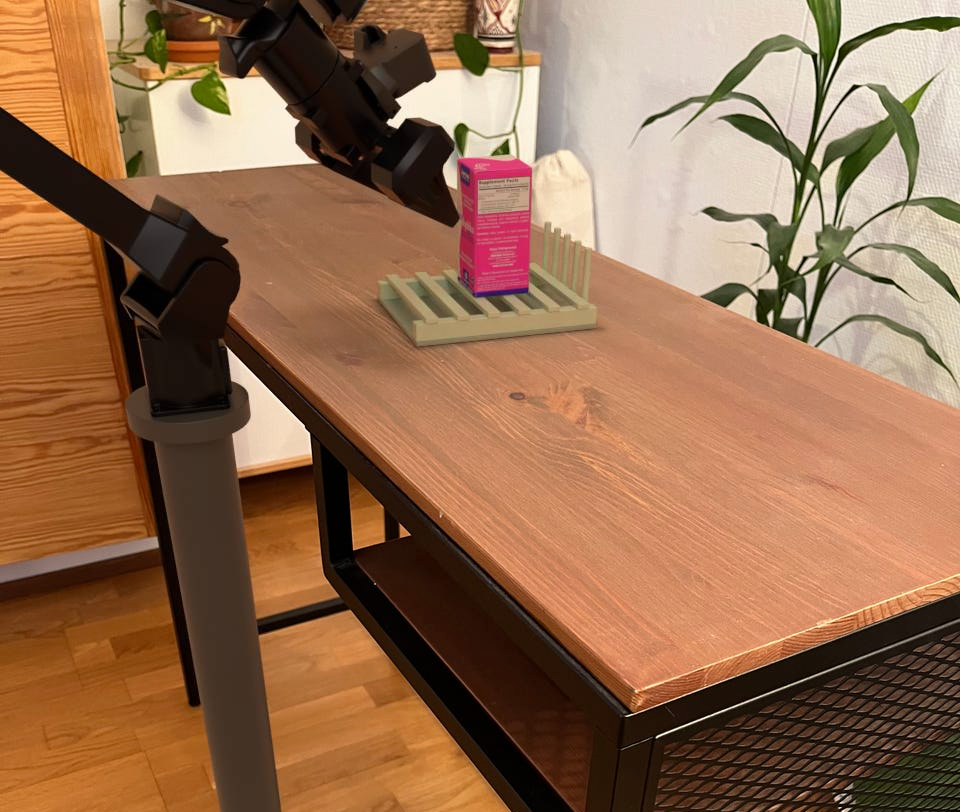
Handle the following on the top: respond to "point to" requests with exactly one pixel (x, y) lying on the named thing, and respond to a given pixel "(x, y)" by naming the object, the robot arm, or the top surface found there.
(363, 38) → the robot arm
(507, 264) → the supplement box
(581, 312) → the drying rack
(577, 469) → the top surface
